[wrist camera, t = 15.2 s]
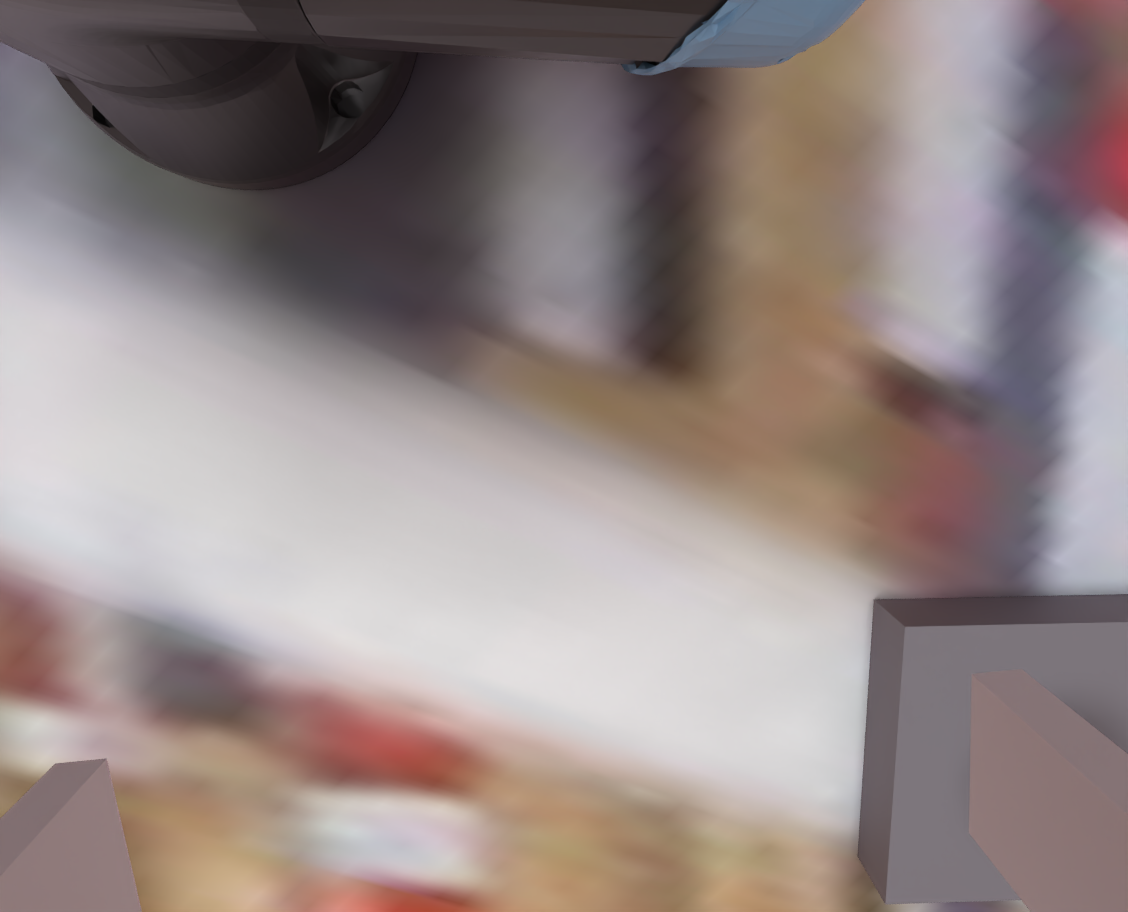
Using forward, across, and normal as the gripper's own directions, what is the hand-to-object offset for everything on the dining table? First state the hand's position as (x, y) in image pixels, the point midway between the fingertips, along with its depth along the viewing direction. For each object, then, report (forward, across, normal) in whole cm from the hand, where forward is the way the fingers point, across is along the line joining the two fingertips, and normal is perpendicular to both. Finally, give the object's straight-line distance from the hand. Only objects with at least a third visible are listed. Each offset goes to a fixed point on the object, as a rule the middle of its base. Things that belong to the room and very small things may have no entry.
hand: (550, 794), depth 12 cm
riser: (+26, +22, -16) cm, 38 cm away
